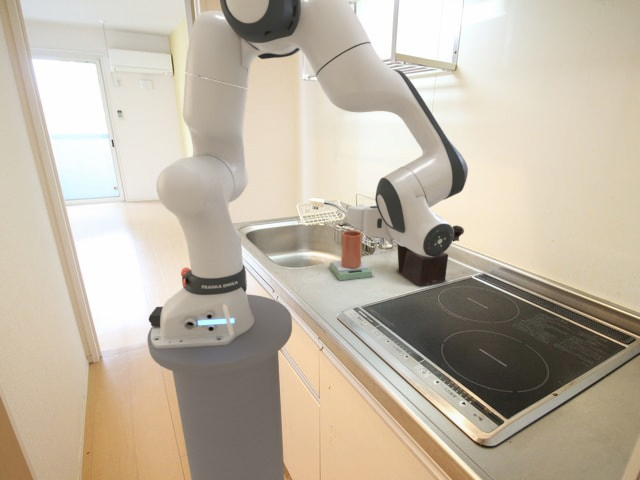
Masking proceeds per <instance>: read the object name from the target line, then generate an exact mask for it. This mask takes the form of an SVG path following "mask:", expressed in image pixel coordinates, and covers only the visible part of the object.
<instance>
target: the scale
mask: <svg viewBox="0 0 640 480" xmlns="http://www.w3.org/2000/svg"><path fill="white" fill-rule="evenodd" d="M329 270H331V272H332V273H333V275H335V276H336V278H337V279H338V280H339V281H347V280H354V279H364V278H372V275H373V271H372V270H371V269H370V268H369V267H368V265H366V264H365V263H364V262H363V261H362V260H361V266H360V267H359V268H355V269H348V268H344V267H342V266H341V260H338V261H336V260H335V261H331V262H329Z"/></svg>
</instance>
